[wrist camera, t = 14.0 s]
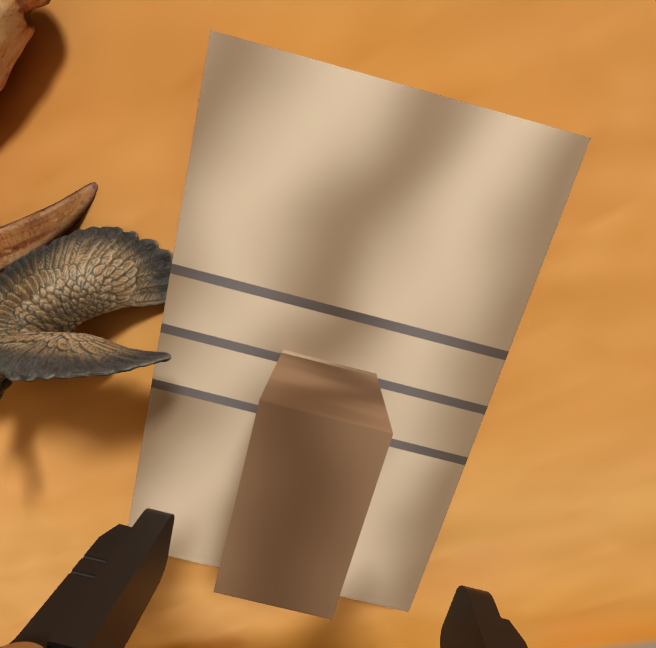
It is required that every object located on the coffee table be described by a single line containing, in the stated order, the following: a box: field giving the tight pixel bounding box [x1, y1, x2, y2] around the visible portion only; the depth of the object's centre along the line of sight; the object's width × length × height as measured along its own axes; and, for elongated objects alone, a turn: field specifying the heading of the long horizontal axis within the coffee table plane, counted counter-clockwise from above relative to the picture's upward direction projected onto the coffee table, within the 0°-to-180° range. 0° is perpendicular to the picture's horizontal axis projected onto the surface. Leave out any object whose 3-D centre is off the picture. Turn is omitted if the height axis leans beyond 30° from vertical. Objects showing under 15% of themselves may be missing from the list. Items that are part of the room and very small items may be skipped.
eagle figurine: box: [0, 226, 173, 399], centre depth 14 cm, size 8×7×9 cm
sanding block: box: [214, 350, 393, 620], centre depth 14 cm, size 4×7×5 cm, turn 165°
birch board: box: [128, 30, 591, 612], centre depth 17 cm, size 14×22×1 cm, turn 165°
